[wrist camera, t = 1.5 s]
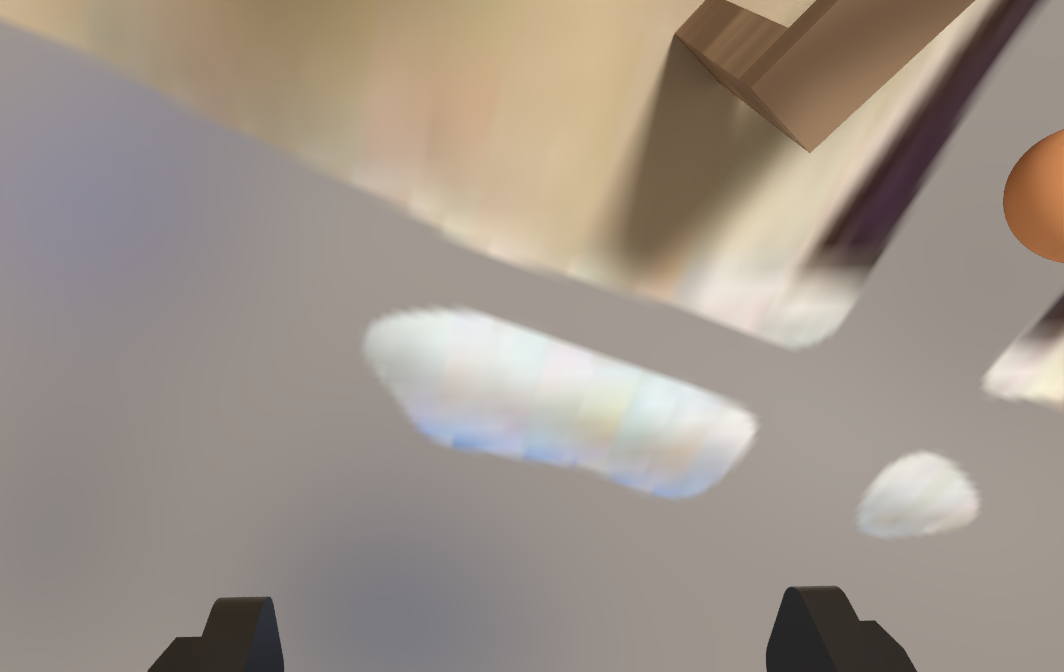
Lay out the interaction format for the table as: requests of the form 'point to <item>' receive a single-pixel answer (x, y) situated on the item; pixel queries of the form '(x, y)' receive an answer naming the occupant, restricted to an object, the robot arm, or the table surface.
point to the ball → (1038, 198)
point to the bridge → (813, 56)
